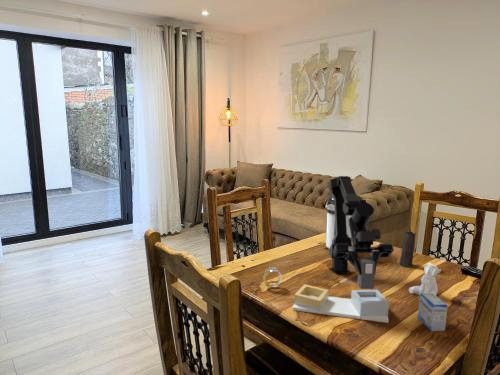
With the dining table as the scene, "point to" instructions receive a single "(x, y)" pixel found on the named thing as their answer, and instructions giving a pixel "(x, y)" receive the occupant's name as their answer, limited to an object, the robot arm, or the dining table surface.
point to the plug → (366, 273)
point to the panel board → (340, 310)
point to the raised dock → (369, 303)
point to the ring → (270, 272)
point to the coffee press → (333, 223)
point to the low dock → (311, 297)
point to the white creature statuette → (427, 281)
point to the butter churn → (408, 246)
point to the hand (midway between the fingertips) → (367, 274)
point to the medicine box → (432, 311)
